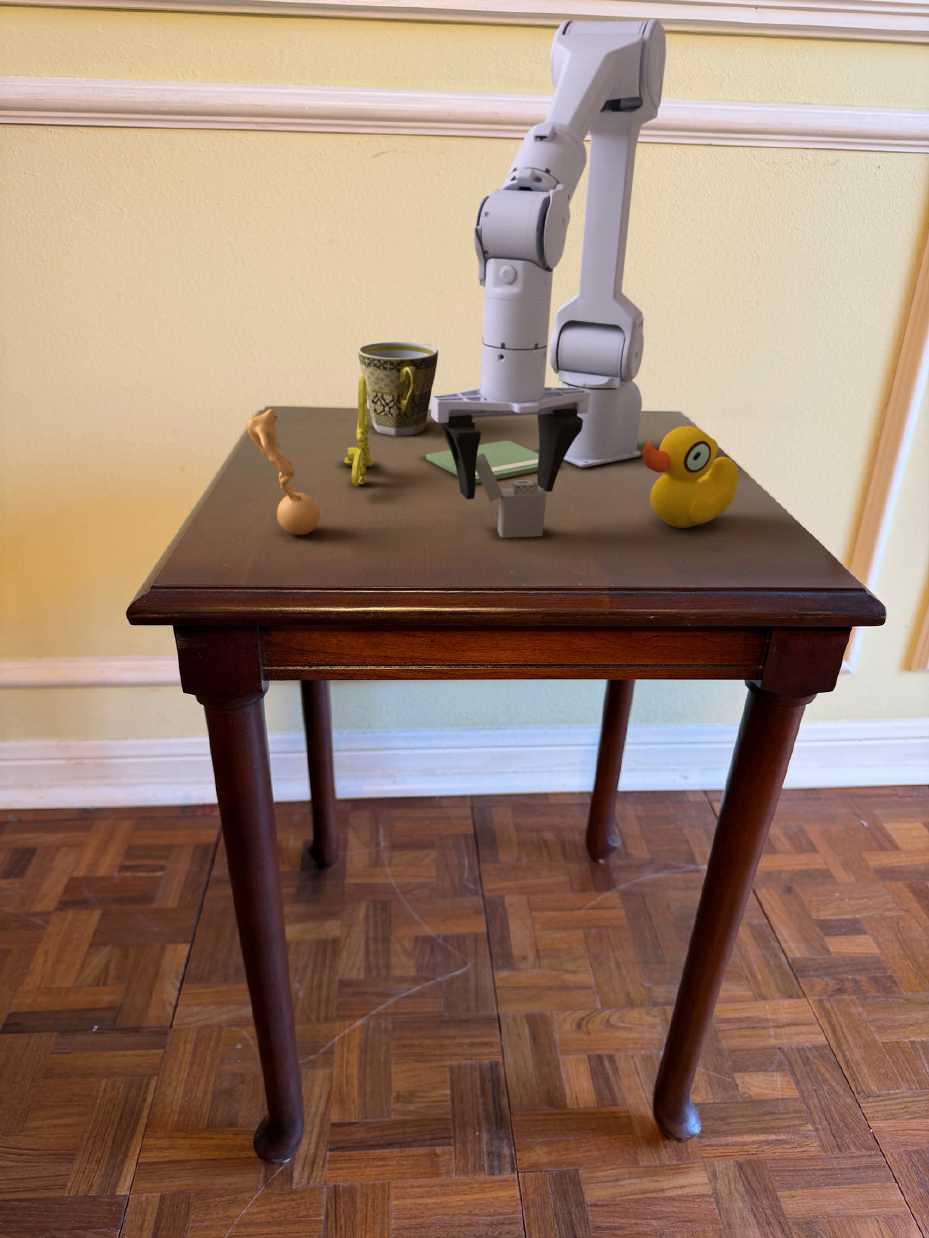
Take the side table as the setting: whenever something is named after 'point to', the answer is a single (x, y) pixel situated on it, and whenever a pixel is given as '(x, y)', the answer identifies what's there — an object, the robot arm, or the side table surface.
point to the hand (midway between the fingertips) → (506, 491)
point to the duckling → (690, 478)
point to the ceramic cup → (398, 385)
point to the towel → (495, 459)
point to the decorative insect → (360, 440)
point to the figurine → (284, 478)
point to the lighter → (514, 503)
